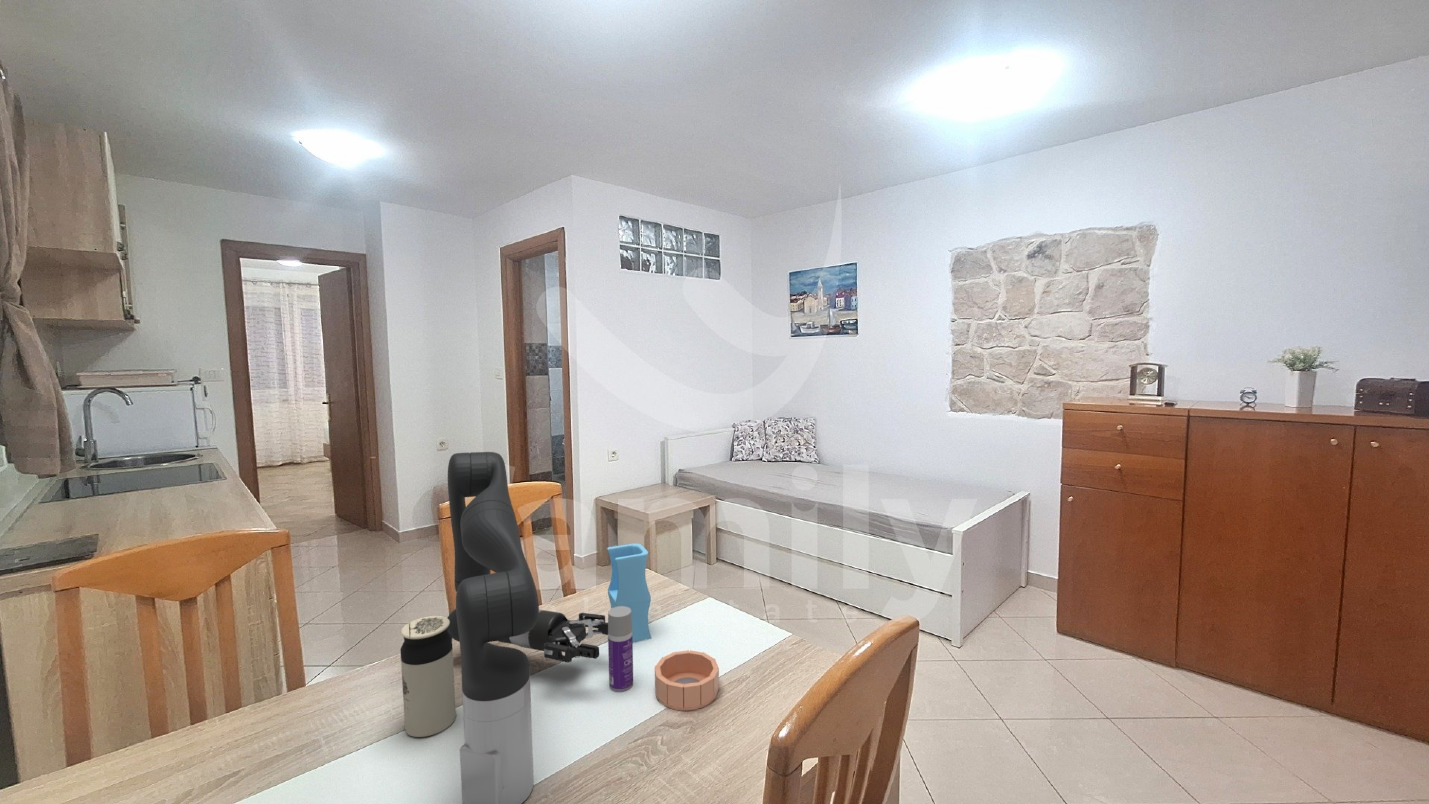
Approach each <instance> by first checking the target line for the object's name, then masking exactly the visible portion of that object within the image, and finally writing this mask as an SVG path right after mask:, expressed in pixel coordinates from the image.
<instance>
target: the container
mask: <svg viewBox="0 0 1429 804" xmlns="http://www.w3.org/2000/svg"><path fill="white" fill-rule="evenodd" d="M607 615H608V617H607V623H608V635H607V647H608V650H607V651H608V683H609V684H608V685H609V689H610V690H611V691H613V692H618V693H620V692H626V691H629V690H630V689H632V687H633V686H634V656H633V655H634V652H633V651H634V650H633V649H634V647H633V639H632V615H631V609H630V608H629V607H625V606H618V607H614V608H612V609H611V608H610V609H609V610H608V612H607Z"/></svg>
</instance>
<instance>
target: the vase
mask: <svg viewBox="0 0 1429 804" xmlns="http://www.w3.org/2000/svg"><path fill="white" fill-rule="evenodd" d="M607 552H608V555H609V558H610V559H609V560H610V564H611V576H610V577H611V578H610V581H609V584H608V588H607V595H608V599H609V603H610V609H612V608H614V607H618V606H625V607H629V608H630V609H631V615H632V639H633V643H637V642H642V641H646V640H651V639H652V635H651V631H650V627H649V611H650V610H649V609H650V606H651V602H652V595H651V593H650V590H649V587H648V583H647V578H646V568H647V560H648V557H649V556H648V555H649V551H648V550H647V549H646V548H645V547H644V546H643V545H642V544H641V543H635V542H634V543H629V544H621V545H617V546H610V547H607Z"/></svg>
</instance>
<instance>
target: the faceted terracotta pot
mask: <svg viewBox="0 0 1429 804" xmlns="http://www.w3.org/2000/svg"><path fill="white" fill-rule="evenodd" d="M719 672H720V667H719V665H718V663H717V661H716V659H715V658H714V657H712V656H711V655H709V654H707V653H706V652H704V651H703V652H702V651H695V650H691V649H690V650H689V649H688V650H681V651H674V652H672V653H669V654H667V655H665V656H662V657H661V658H660V659H659V660H658V661H657V663H656V665H655V666H654V690H655V696H656V699H657V701H658V702H659V703H660V704H661V705H663V706H664V707H667V708H668V709H671V710H675V711H680V712H688V711H689V712H690V711H695V710H699V709H702V708H705V707H707V706H709V705H710V704H711V703H713V702H714V700H715V699H716V698H717V696H718V693H719V692H718V691H719V689H720V673H719Z"/></svg>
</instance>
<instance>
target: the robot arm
mask: <svg viewBox="0 0 1429 804" xmlns="http://www.w3.org/2000/svg"><path fill="white" fill-rule="evenodd" d="M447 491H448V492H447V494H448V503H449V514H450V515H449V516H450V522H451V524H450V525H451V530H452V539H453V545H454V546H453V547H454V548H453V550H454V589H455V592H456V593H455V594H456V595H455V609H454V610H452V611H451V612H450V613H449V614H448V615H447V617H446V618H448V619H449V621H450V624H449V626H448V630H447V631H448V632H449V634H450V635H451V637H452V640H454V641H456V642H459V649H460V662H461V663H460V664H461V665H460V666H461V692H462V693H461V694H462V708H463V709H462V711H463V712H462V715H463V716H462V717H463V731H464V733H463V736H464V743H463V745H462V746H461V747H460V748H459V761H460V763H459V765H460V781H461V783H460V784H461V800H462V802H461V803H462V804H523V803H524V802H525V801H526V800H527V799H528V798H529V796H530V795H531V792H532V791H533V788H534V785H535V781H534V775H535V774H534V753H533V727H532V726H533V725H532V723H533V721H532V702H531V701H532V697H531V693H532V692H531V673H530V672H531V670H530V660H529V658H528V655H527V654H526V653H525V652H523V651H522V650H520V649H518V648H513V647H509V646H504V645H503V646H501V645H497V644H496V645H495V644H493V643H491V642H500V643H504V644H505V643H506V644H508V645H509V644H510V645H516V646H518V647H520V648H524V649H525V648H526V649H530V650H536V651H540V652H543V657H544V658H545V659H549V660H555V661H559V662H562V663H563V662H564V663H571V662H572V661H573V659H578V658H580V657H582V658H586V659H595V660H596V659H598V657H599V656H600V647H599V646H598V645H595V644H594V645H593V644H588V643H581V642H582V641H584V640H585V639H586V640H587V639H591V638H593V637H594V636H596V635H601V634H602V635H606V636H608V622H606V615H604V614H597V613H587V612H579V613H578V618H577V619H573V620H569V619H568V618H567V617H566V615H565V614H564V613H562V612H558V611H551V610H544V609H540V604H539V603H540V602H539V595H538V590H537V587H536V585H535V581H534V577H533V575H532V573H531V572H532V571H531V570H530V567H529V565H528V562H527V558H526V557H525V554H524V551H523V547H522V543H521V536H520V530H519V526H518V522H517V517H516V513H515V511H514V508H513V504H512V500H511V496H510V491H509V486H508V478H507V468H506V465H505V460H504V458H503V457H502V455H501V454H500V453H498V452H494V451H476V452H475V451H474V452H473V451H472V452H457V453H453V454H452V455H451V456H450V458H449V460H448V466H447ZM466 498H473V499H472V500H471V501H469V503H467V504H466ZM492 572H493V573H492ZM586 629H587V630H586ZM563 653H564V654H563Z"/></svg>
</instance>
